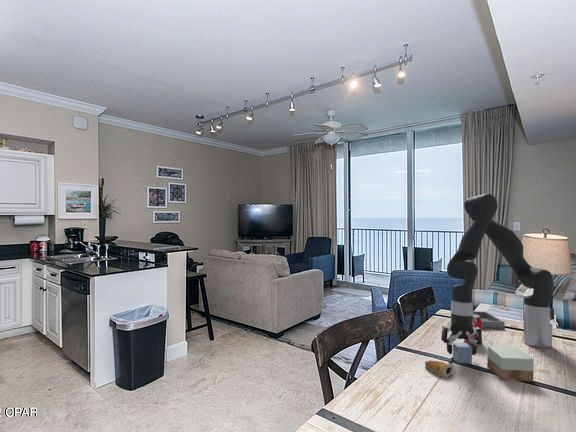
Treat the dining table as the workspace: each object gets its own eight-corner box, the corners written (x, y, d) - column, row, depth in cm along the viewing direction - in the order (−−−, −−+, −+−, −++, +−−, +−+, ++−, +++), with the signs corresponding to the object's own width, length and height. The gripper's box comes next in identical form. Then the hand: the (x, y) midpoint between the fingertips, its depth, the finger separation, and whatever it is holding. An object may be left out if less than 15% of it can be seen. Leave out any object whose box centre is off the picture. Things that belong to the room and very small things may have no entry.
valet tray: (485, 317, 182) (485, 311, 182) (504, 329, 164) (504, 321, 164) (459, 317, 183) (459, 310, 183) (475, 328, 165) (475, 321, 165)
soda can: (485, 345, 143) (485, 317, 143) (468, 344, 143) (468, 317, 143) (476, 339, 150) (476, 312, 150) (460, 338, 150) (460, 312, 150)
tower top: (516, 358, 121) (516, 347, 121) (533, 371, 111) (533, 359, 111) (487, 357, 122) (487, 346, 122) (501, 369, 112) (501, 357, 112)
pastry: (420, 368, 121) (420, 358, 121) (431, 364, 125) (432, 354, 125) (444, 379, 113) (444, 368, 113) (455, 374, 117) (455, 363, 117)
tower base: (515, 368, 122) (515, 358, 122) (533, 382, 112) (533, 370, 112) (487, 367, 122) (487, 356, 122) (502, 381, 112) (502, 369, 112)
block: (465, 358, 130) (465, 342, 130) (471, 363, 125) (471, 347, 125) (452, 357, 131) (452, 342, 131) (458, 363, 126) (458, 347, 126)
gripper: (476, 310, 131) (475, 350, 131) (439, 309, 132) (438, 349, 132) (485, 315, 124) (485, 359, 124) (446, 314, 125) (446, 357, 125)
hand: (461, 354), depth 128 cm, fingers open, 8 cm apart
